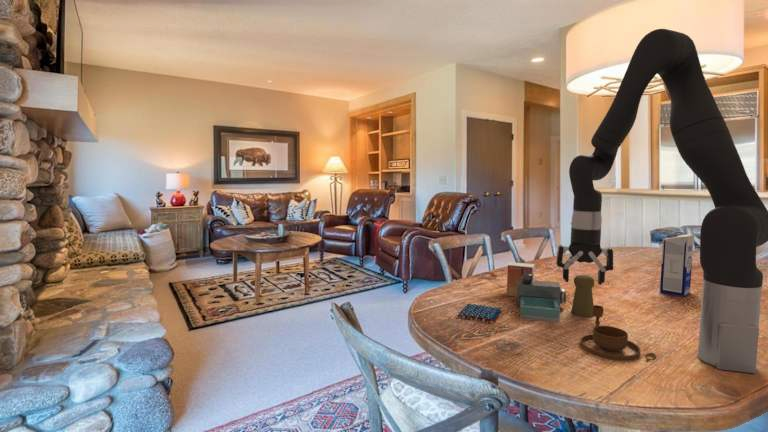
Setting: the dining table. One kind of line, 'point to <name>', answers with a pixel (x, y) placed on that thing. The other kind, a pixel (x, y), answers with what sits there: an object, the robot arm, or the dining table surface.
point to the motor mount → (539, 299)
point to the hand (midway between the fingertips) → (583, 282)
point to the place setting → (610, 340)
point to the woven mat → (480, 313)
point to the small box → (517, 275)
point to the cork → (583, 296)
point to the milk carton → (676, 264)
